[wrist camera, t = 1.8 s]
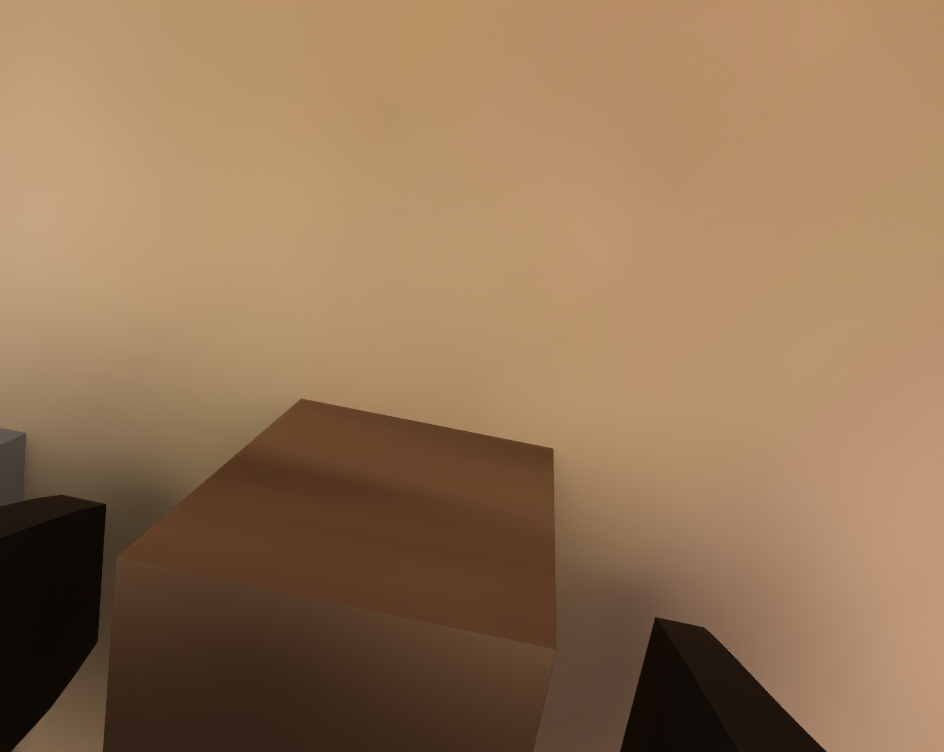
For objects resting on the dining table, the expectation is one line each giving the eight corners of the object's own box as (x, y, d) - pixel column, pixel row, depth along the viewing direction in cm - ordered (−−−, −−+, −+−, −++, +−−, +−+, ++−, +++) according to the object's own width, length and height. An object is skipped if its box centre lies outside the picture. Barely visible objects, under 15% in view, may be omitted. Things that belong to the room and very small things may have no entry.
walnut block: (506, 671, 13) (477, 998, 8) (273, 622, 13) (91, 909, 8) (552, 448, 12) (556, 650, 7) (302, 398, 12) (116, 556, 7)
